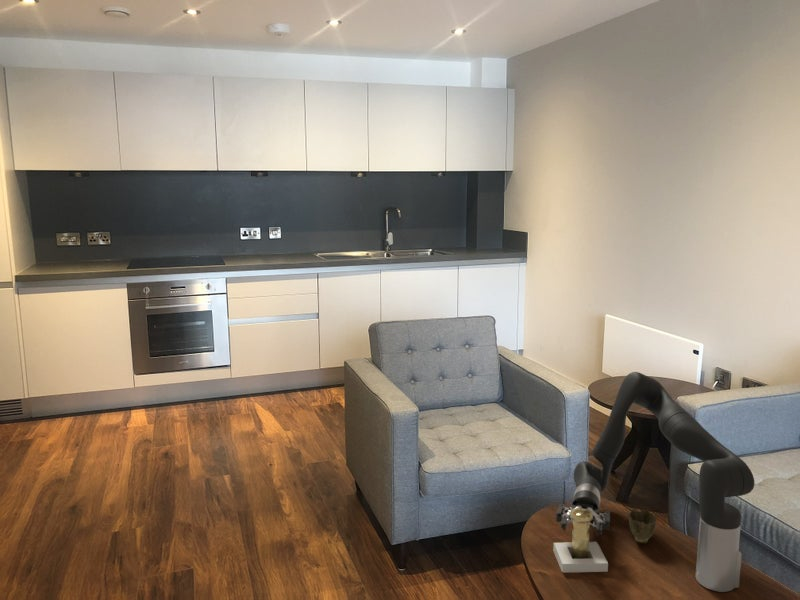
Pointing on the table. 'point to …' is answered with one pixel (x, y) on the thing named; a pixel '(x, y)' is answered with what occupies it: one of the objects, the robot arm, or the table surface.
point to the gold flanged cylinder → (580, 532)
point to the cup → (642, 525)
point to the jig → (568, 564)
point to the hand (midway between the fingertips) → (580, 530)
